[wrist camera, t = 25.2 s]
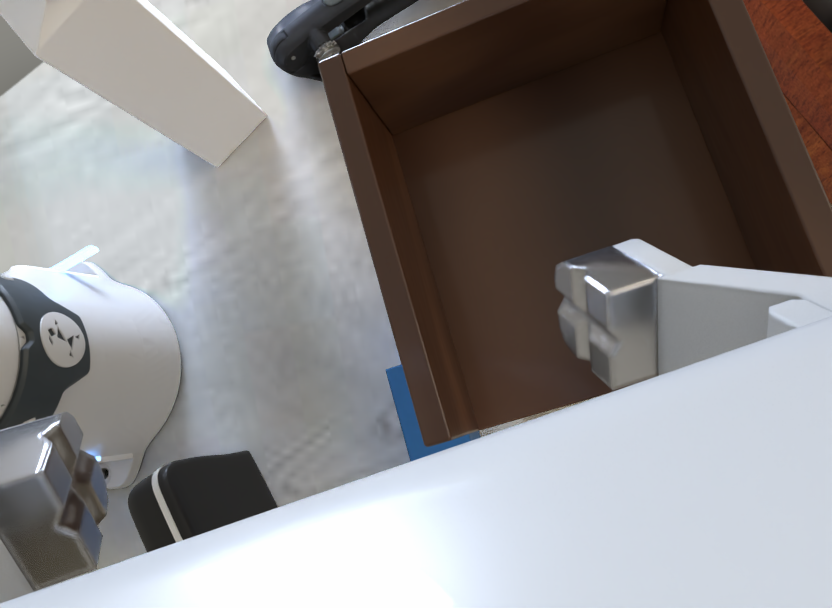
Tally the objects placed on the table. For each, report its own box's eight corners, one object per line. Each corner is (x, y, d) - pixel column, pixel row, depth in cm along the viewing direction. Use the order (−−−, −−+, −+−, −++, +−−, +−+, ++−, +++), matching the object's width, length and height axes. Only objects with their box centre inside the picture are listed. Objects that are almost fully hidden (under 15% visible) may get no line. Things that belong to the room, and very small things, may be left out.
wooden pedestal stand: (520, 414, 46) (424, 448, 18) (470, 253, 48) (316, 61, 20) (690, 365, 44) (881, 317, 16) (629, 198, 46) (701, -100, 18)
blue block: (475, 636, 45) (464, 660, 41) (401, 371, 48) (385, 369, 44) (535, 622, 44) (531, 646, 40) (456, 354, 48) (444, 350, 44)
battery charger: (209, 471, 51) (107, 492, 40) (249, 445, 50) (156, 460, 39) (250, 555, 49) (155, 601, 38) (291, 529, 49) (207, 569, 38)
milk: (218, 169, 54) (-17, 29, 33) (175, 121, 56) (-75, -42, 35) (269, 115, 54) (64, -63, 33) (225, 68, 55) (1, -130, 34)
